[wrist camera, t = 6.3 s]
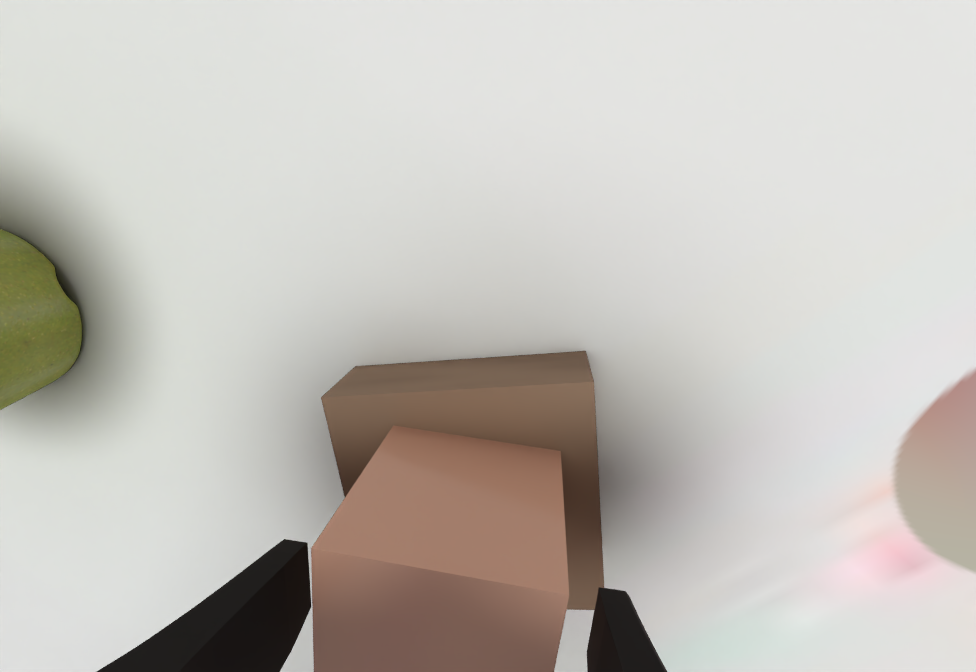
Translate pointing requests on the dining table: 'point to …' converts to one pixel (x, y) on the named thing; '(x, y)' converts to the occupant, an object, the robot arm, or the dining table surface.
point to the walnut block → (487, 428)
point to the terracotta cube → (444, 560)
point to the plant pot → (33, 321)
